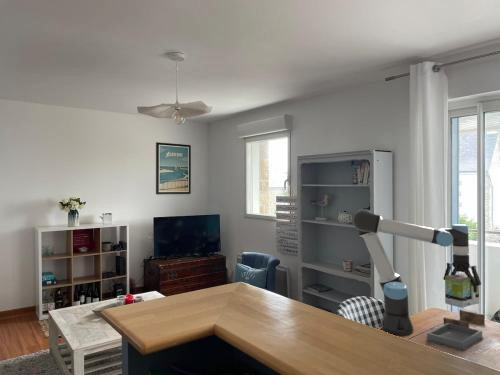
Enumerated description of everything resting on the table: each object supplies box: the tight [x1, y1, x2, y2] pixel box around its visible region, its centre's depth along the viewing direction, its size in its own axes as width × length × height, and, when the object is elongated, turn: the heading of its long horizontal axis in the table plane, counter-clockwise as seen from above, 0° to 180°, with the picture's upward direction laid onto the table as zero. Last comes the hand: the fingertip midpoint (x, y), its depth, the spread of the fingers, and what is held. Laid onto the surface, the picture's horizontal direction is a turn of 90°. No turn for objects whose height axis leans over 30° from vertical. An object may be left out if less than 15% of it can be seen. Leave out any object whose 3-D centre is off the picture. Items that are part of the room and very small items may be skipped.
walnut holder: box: [442, 309, 486, 328], centre depth 197 cm, size 12×19×5 cm, turn 127°
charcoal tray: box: [426, 323, 483, 352], centre depth 179 cm, size 16×21×4 cm
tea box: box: [444, 272, 480, 309], centre depth 197 cm, size 15×10×15 cm
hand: (462, 296), depth 197 cm, fingers closed on tea box, 10 cm apart
